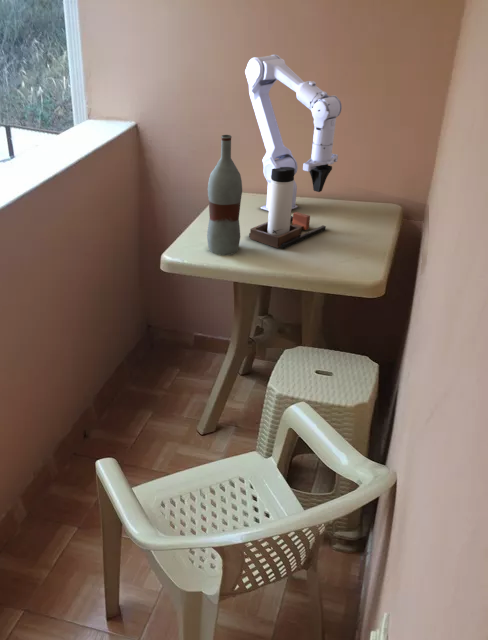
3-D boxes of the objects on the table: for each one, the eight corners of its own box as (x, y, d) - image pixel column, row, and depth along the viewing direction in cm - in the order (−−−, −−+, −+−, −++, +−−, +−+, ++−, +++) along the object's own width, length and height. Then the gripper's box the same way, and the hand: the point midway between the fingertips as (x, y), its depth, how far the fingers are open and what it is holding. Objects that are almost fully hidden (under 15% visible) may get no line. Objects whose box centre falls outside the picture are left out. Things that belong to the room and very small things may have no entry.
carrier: (288, 222, 198) (289, 209, 196) (315, 231, 193) (317, 217, 190) (249, 238, 188) (250, 225, 185) (277, 248, 182) (278, 234, 180)
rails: (291, 219, 201) (291, 215, 200) (325, 230, 194) (325, 226, 193) (249, 237, 189) (249, 233, 189) (283, 248, 182) (284, 244, 181)
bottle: (231, 258, 177) (235, 142, 159) (201, 252, 180) (201, 138, 163) (245, 246, 183) (250, 133, 166) (215, 241, 187) (217, 130, 170)
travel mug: (276, 243, 185) (281, 171, 174) (262, 236, 190) (267, 165, 178) (293, 239, 188) (300, 168, 176) (280, 232, 192) (285, 162, 181)
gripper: (319, 150, 180) (314, 199, 188) (349, 141, 189) (342, 188, 196) (298, 145, 184) (294, 194, 192) (328, 136, 193) (323, 183, 201)
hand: (317, 190), depth 195 cm, fingers closed
